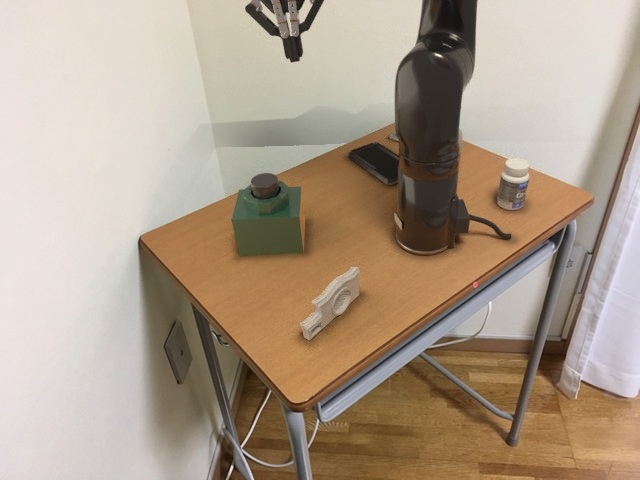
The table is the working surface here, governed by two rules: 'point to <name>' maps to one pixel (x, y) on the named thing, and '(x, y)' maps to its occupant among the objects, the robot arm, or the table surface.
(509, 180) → the pill bottle
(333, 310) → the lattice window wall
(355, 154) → the phone
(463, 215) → the robot arm
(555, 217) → the table surface
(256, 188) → the dark push button
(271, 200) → the dispenser
